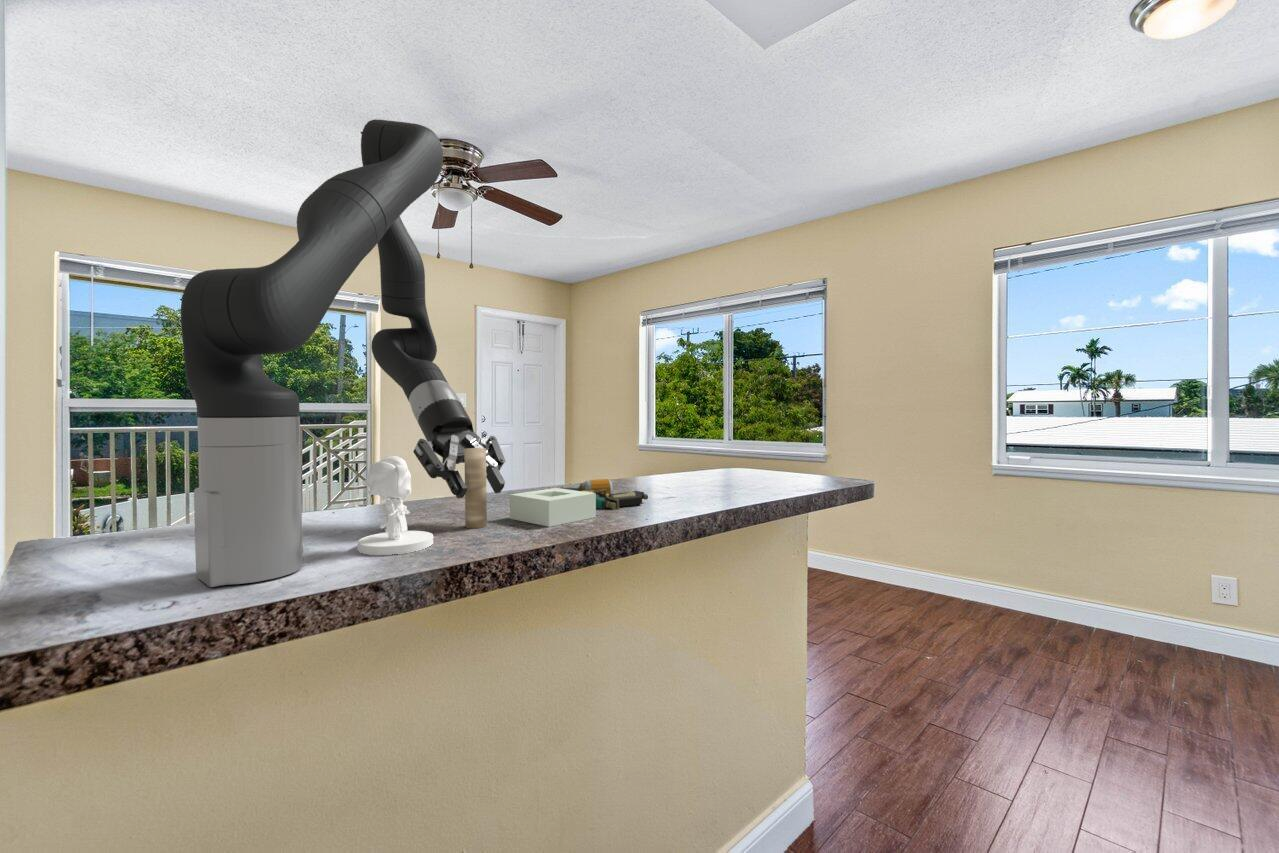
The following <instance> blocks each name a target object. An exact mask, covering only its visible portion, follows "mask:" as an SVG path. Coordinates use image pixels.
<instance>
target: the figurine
mask: <svg viewBox="0 0 1279 853" xmlns="http://www.w3.org/2000/svg"><path fill="white" fill-rule="evenodd" d="M411 474H412V473H411V472H410V470H409V467H408V464H407V462H406V460H405V459H403V458H402V457H399V456H397V455H390V456H386V457H384V458H382V459H381V460H379V461H377V462H373V463H371V465H370V466H369V470H368V473H367V476H366V479H364V480H363V481H362V483H363V484H364V485H366V486H368V487H369V488H370V490H369V491H368V492H367V493H368V494H369V495H372V496H379V497H381V500H383V501H385V502H384V507H385V509H386V512H387V513H388V516H387V520H386V521H385V522H382V524H380V525H379V528H380V529H383V528H384V532H379V533H375V534H370V535H366V536H364V537H362V538H361V537H360V538H359V540H357V551H359V552H358V553H360V554H362V553H363V555H366V554H367V555H368V556H395V555H394V554H398V555H405V553H406V554H411V552H412V553H415V552H414V551H416V552H419V550H420V551H423V550H422V549H424V550H426V549H425V548H427V547H429V546H431V545H432V544H433V545H434V534H433V533H432V532H429V531H424V530H423V531H422V530H408V524H407V523H408V522H407V517H406V515H410V514H411V511H410V510H408V507H407V505H404V500H407V499H408V498H409V497H410V496H411V494H412V475H411ZM433 545H432V546H433ZM432 546H431V547H432ZM429 548H430V547H429ZM427 549H428V548H427ZM392 554H393V555H392Z"/></svg>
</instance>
